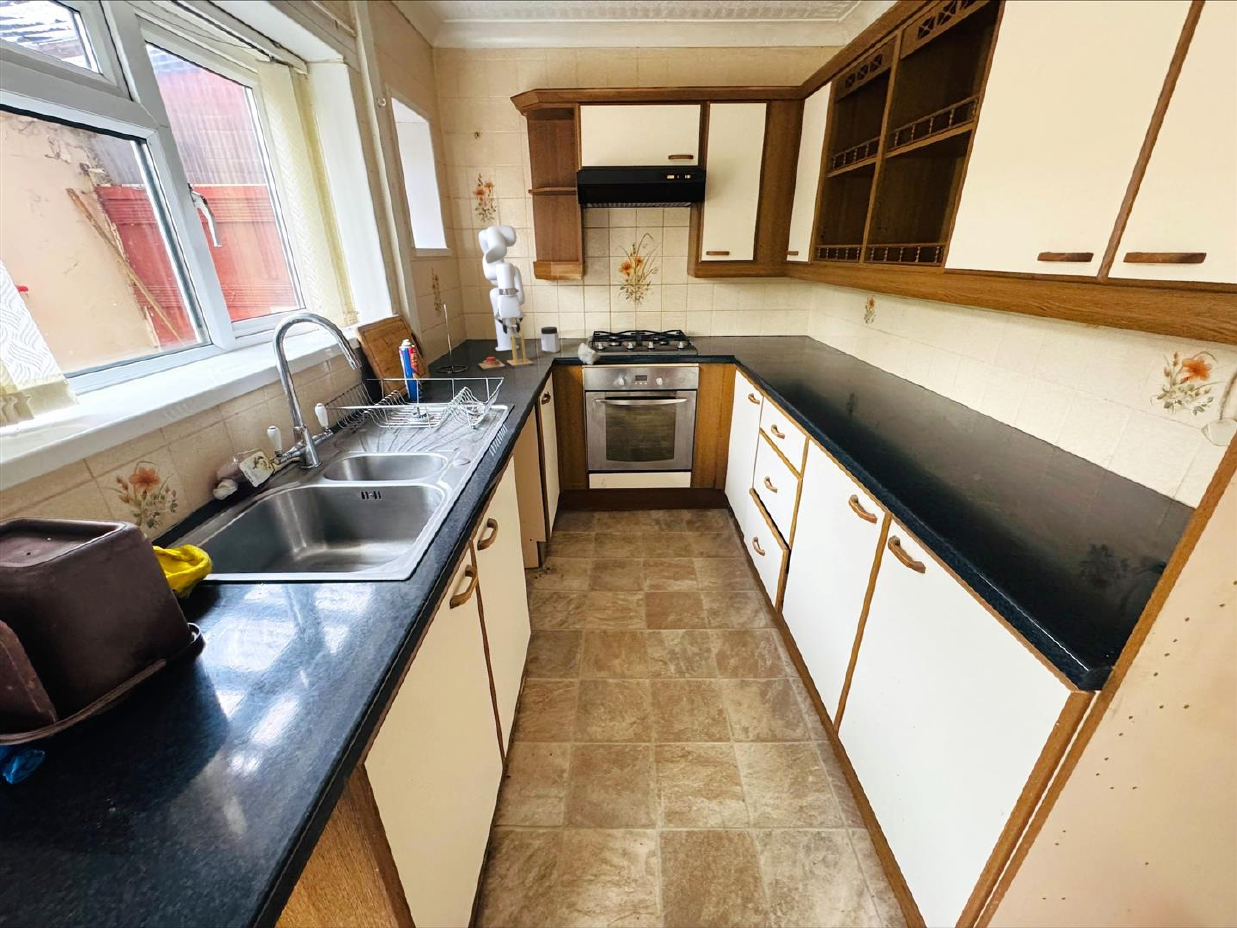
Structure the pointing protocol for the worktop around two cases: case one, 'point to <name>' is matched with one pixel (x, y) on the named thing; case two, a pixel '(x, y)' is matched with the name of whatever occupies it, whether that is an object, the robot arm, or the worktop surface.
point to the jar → (550, 339)
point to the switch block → (491, 364)
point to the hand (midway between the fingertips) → (511, 332)
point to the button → (490, 359)
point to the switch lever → (517, 337)
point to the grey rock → (587, 354)
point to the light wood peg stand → (514, 351)
